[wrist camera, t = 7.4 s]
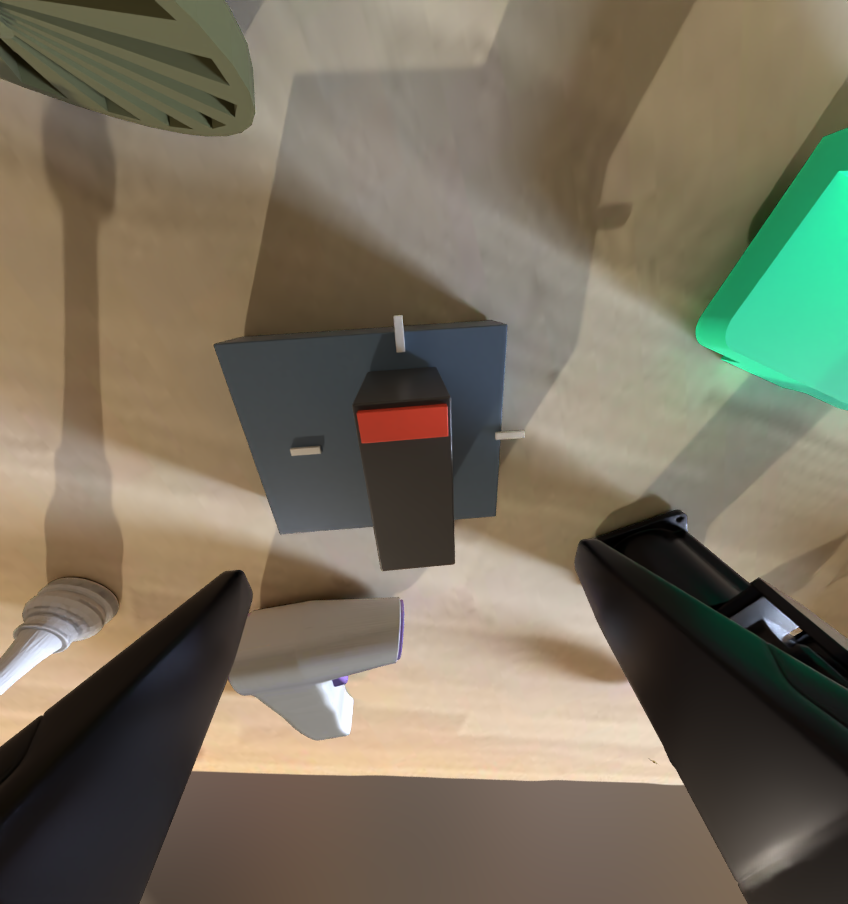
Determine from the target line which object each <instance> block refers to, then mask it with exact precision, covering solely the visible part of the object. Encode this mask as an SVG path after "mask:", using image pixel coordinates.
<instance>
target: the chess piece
mask: <svg viewBox="0 0 848 904" xmlns="http://www.w3.org/2000/svg"><path fill="white" fill-rule="evenodd" d="M118 609H119V603H118V601H117V598H116V597H115V595H114V594H113V593H112V592H111V591H110V590H108V589H107V588H106V587H104V586H102V585H100V584H98V583H96V582H93V581H90V580H87V579H82V578H61V579H57V580H54V581H52V582H50V583H49V584H47V585H46V586H45V587H44V588H43V589H41V590H40V591H39V592H38V594H37V596H34V597H33V598H32V599H30V600H29V601H28V602H27V603H26V604H25V607H24V610H23V613H22V616H23V620H24V623H23V624H21V625H20V626H19V627H17V628H16V629H15V630H14V632H13V637H14V639H15V640H14V641H13V643H12V644H11V646H10V647H9V648H8V649H7V651H6V652H5V653H4V654H3V656H2V657H1V658H0V695H2V694H3V693H4V692H5V691H6V690H7V689H8V688H9V687H10V686H11V685H12V684H13V683H15V682H16V681H17V680H18V679H19V678H21V677H22V676H23V675H24V674H25V673H27V672H28V671H29V670H30V669H32V668H33V667H34V666H35V665H37V664H38V663H39V662H41V661H42V660H43V659H45V658H46V657H48V656H49V655H51V654H54V653H60V652H62V651H64V650H65V649H67V648H68V647H69V646H70V644H71V642H74V641H80V640H84V639H87V638H89V637H91V636H93V635H95V634H97V633H98V632H99V631H100V630H101V629H102V628H103V626H104V624H106V623H108V622H109V621H110V620H111V619H112V618H113V617H114V616H115V615H116V613H117V611H118Z"/></svg>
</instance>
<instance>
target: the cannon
mask: <svg viewBox="0 0 848 904" xmlns="http://www.w3.org/2000/svg"><path fill="white" fill-rule="evenodd" d="M0 78H1V79H4V80H7V81H9V82H12V83H15V84H17V85H20V86H22V87H25V88H28V89H31V90H33V91H36V92H39V93H42V94H45V95H48V96H51V97H53V98H56V99H59V100H62V101H65V102H68V103H71V104H73V105H77V106H80V107H83V108H86V109H89V110H93V111H96V112H99V113H102V114H105V115H109V116H112V117H115V118H119V119H122V120H126V121H130V122H134V123H137V124H141V125H145V126H149V127H153V128H158V129H163V130H168V131H173V132H177V133H183V134H192V135H200V136H229V135H233V134H237V133H242V132H243V131H244V130H246V129H247V128H248V127H250V126H251V125H252V122H253V118H254V115H255V100H254V80H253V67H252V63H251V58H250V54H249V49H248V45H247V42H246V40H245V38H244V36H243V34H242V32H241V30H240V28H239V26H238V24H237V22H236V20H235V18H234V16H233V14H232V12H231V10H230V8H229V6H228V5H227V3H226V2H225V1H224V0H0Z"/></svg>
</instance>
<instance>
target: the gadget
mask: <svg viewBox="0 0 848 904" xmlns="http://www.w3.org/2000/svg"><path fill="white" fill-rule="evenodd" d="M352 409H353V415H354V420H355V426H356V432H357V437H358V443H359V449H360V454H361V460H362V466H363V471H364V477H365V483H366V488H367V494H368V500H369V505H370V511H371V517H372V522H373V528H374V534H375V539H376V545H377V551H378V556H379V562H380V568H381V571H388V570H399V569H410V568H420V567H431V566H442V565H452V564H455V543H454V499H453V455H452V411H451V397H450V395H449V392H448V390H447V388H446V386H445V384H444V382H443V380H442V378H441V376H440V374H439V372H438V369H437V367H425V368H412V369H399V370H386V371H373V372H367V374H366V376H365V379H364V381H363V383H362V385H361V387H360V389H359V391H358V393H357V396H356V398H355V400H354V402H353V404H352Z"/></svg>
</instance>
